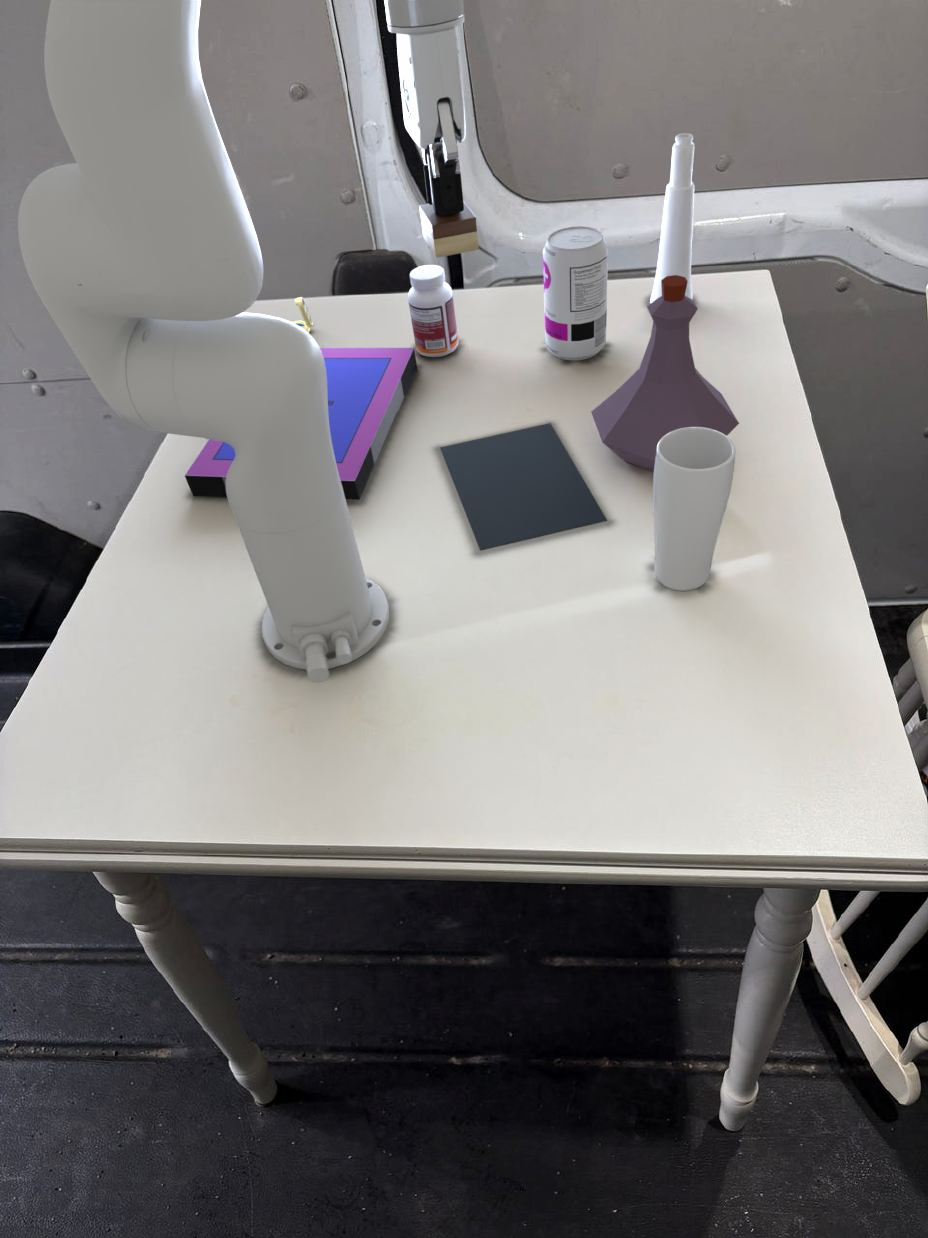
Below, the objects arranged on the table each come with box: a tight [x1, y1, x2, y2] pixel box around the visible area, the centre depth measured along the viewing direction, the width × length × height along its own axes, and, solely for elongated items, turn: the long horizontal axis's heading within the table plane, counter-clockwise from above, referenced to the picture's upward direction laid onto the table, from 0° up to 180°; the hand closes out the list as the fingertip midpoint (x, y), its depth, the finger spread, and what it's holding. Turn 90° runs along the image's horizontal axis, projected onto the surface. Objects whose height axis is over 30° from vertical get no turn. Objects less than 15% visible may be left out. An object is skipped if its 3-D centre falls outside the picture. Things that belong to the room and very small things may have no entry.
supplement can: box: [542, 225, 609, 361], centre depth 110 cm, size 8×8×15 cm
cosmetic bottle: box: [649, 132, 696, 304], centre depth 114 cm, size 6×6×22 cm
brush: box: [418, 150, 480, 259], centre depth 93 cm, size 7×5×10 cm
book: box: [184, 347, 418, 501], centre depth 107 cm, size 21×3×30 cm
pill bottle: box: [407, 264, 459, 358], centre depth 115 cm, size 6×6×11 cm
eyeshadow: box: [291, 296, 314, 334], centre depth 126 cm, size 4×5×5 cm
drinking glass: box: [652, 427, 737, 592], centre depth 77 cm, size 7×7×15 cm
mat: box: [439, 422, 608, 551], centre depth 95 cm, size 20×14×1 cm
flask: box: [590, 275, 740, 473], centre depth 90 cm, size 16×16×20 cm
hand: (445, 205), depth 93 cm, fingers closed on brush, 3 cm apart
